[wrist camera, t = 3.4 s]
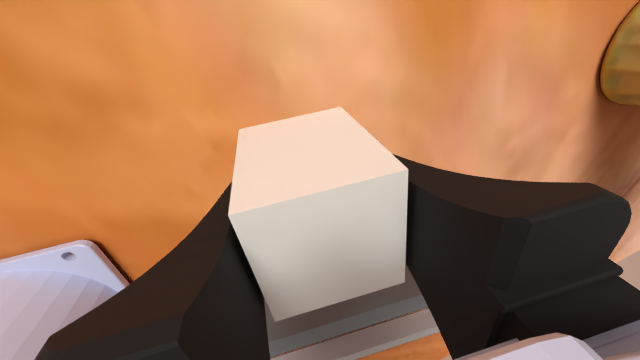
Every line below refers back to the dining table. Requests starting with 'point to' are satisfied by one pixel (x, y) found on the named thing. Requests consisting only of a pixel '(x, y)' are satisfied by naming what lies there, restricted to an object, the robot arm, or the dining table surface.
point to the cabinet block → (318, 211)
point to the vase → (623, 62)
